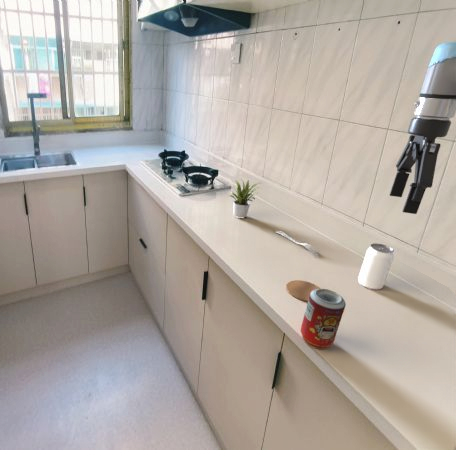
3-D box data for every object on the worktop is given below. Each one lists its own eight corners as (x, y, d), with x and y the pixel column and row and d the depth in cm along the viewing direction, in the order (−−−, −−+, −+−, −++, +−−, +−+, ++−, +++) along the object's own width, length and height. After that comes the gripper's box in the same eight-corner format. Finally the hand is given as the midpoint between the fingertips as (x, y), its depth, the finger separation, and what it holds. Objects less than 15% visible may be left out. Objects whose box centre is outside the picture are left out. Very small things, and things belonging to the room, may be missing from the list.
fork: (279, 237, 132) (280, 230, 132) (320, 256, 114) (321, 249, 113) (273, 237, 132) (274, 231, 131) (313, 257, 113) (314, 250, 112)
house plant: (266, 217, 145) (272, 180, 138) (249, 226, 135) (256, 187, 129) (236, 208, 154) (241, 173, 147) (219, 216, 144) (224, 179, 138)
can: (354, 276, 103) (365, 241, 98) (377, 279, 102) (389, 244, 97) (361, 288, 97) (373, 251, 92) (386, 291, 96) (400, 254, 91)
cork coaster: (323, 286, 97) (323, 285, 97) (325, 305, 89) (325, 304, 89) (286, 278, 101) (286, 277, 100) (285, 296, 92) (285, 295, 92)
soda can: (309, 353, 73) (323, 306, 68) (293, 330, 80) (304, 287, 75) (339, 350, 74) (354, 304, 69) (320, 328, 81) (333, 285, 76)
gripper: (399, 112, 90) (375, 188, 99) (430, 122, 69) (397, 218, 77) (432, 114, 88) (405, 192, 96) (476, 125, 66) (436, 224, 75)
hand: (401, 204), depth 87 cm, fingers open, 13 cm apart
